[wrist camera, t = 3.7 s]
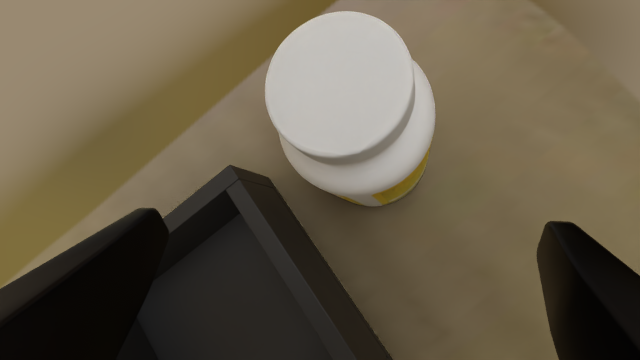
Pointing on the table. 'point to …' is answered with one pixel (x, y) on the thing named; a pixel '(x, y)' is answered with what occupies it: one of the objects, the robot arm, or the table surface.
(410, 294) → the table surface
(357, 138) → the supplement bottle
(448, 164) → the table surface
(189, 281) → the bin
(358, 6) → the table surface
